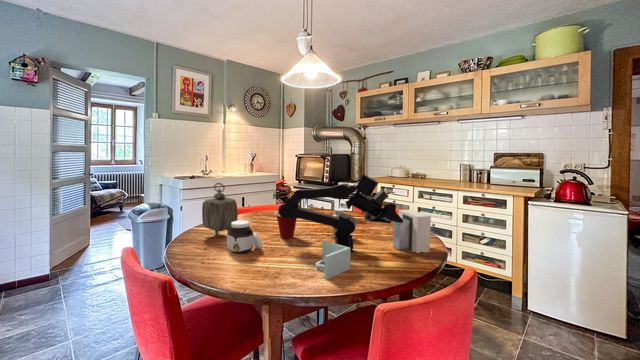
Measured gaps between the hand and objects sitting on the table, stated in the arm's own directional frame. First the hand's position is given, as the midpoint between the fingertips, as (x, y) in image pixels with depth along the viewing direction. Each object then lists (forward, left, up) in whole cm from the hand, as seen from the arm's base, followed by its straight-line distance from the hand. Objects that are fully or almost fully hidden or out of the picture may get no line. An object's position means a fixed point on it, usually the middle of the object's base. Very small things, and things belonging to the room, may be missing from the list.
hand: (396, 222), depth 120 cm
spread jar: (-59, +15, -12) cm, 62 cm away
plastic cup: (-40, +29, -12) cm, 51 cm away
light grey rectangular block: (+6, +2, -12) cm, 13 cm away
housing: (+9, +2, -12) cm, 15 cm away
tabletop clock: (-70, +38, -12) cm, 80 cm away
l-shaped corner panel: (-34, -12, -12) cm, 38 cm away
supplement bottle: (-16, +25, -12) cm, 32 cm away
